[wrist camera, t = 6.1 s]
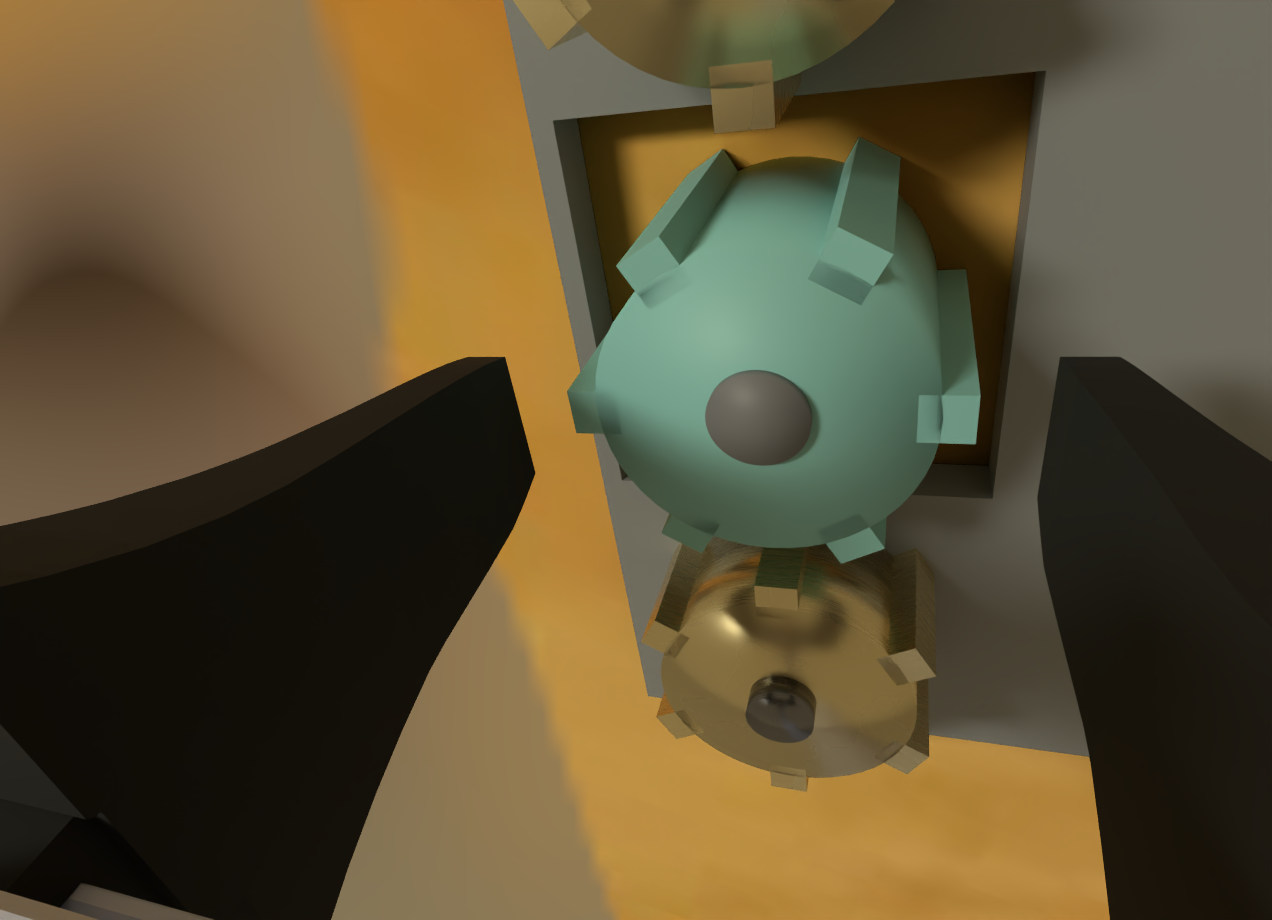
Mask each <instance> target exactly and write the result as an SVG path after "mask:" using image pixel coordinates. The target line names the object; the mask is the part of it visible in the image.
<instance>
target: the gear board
mask: <svg viewBox="0 0 1272 920" xmlns="http://www.w3.org/2000/svg"><path fill="white" fill-rule="evenodd" d="M503 1H504V6H505V11H506V16H507V21H508V25H509V30H510V35H511V40H512V45H513V49H514V54H515V59H516V64H517V69H518V73H519V78H520V83H521V88H522V93H523V97H524V102H525V107H526V112H527V117H528V121H529V126H530V131H531V136H532V141H533V145H534V150H535V155H536V160H537V165H538V169H539V174H540V179H541V184H542V189H543V193H544V198H545V203H546V208H547V213H548V217H549V222H550V227H551V232H552V237H553V241H554V246H555V251H556V256H557V261H558V265H559V270H560V275H561V280H562V285H563V289H564V294H565V299H566V304H567V309H568V313H569V318H570V323H571V328H572V333H573V337H574V342H575V347H576V352H577V357H578V361H579V366H580V371H582V369H583V368H584V366H585V365H586V363H587V362H588V360H589V359H590V358H591V356H592V355H593V353H594V352H595V350H596V349H597V347H598V346H599V344H600V343H601V342H602V340H603V339H604V337H605V336H606V334H607V333H608V331H609V329H610V327H611V325H612V323H613V320H612V315H611V309H610V303H609V298H608V292H607V286H606V281H605V275H604V269H603V264H602V258H601V252H600V247H599V241H598V235H597V230H596V224H595V218H594V213H593V207H592V201H591V196H590V190H589V184H588V179H587V173H586V167H585V162H584V156H583V150H582V145H581V139H580V133H579V128H578V122H577V118H583V117H592V116H602V115H612V114H622V113H632V112H642V111H652V110H661V109H671V108H681V107H691V106H701V105H711V104H712V112H713V123H714V133H725V132H736V131H747V130H758V129H769V128H775V127H776V126H777V124H778V122H779V121H780V119H781V117H782V115H783V114H784V112H785V110H786V109H787V107H788V105H789V103H790V102H791V100H792V98H793V97H794V96H799V95H809V94H819V93H829V92H839V91H848V90H858V89H868V88H878V87H888V86H898V85H907V84H917V83H927V82H937V81H947V80H957V79H966V78H976V77H986V76H996V75H1006V74H1016V73H1026V72H1035V71H1036V73H1035V82H1034V90H1033V98H1032V107H1031V115H1030V124H1029V132H1028V141H1027V149H1026V157H1025V166H1024V174H1023V183H1022V191H1021V199H1020V208H1019V216H1018V225H1017V233H1016V242H1015V250H1014V258H1013V267H1012V275H1011V284H1010V292H1009V301H1008V309H1007V317H1006V326H1005V334H1004V343H1003V351H1002V359H1001V368H1000V376H999V385H998V393H997V402H996V410H995V418H994V427H993V435H992V444H991V452H990V460H989V466H978V465H952V464H931V466H930V468H929V469H928V471H927V473H926V475H925V477H924V478H923V480H922V481H921V483H920V484H919V485H918V487H917V488H916V489H915V491H914V492H913V493H912V494H911V495H910V496H909V497H908V498H907V499H906V501H905V502H904V503H903V504H902V505H901V506H900V507H898V508H897V509H896V510H895V511H893V512H892V513H891V514H889V515H888V516H887V520H886V538H885V549H882V550H879V551H877V552H874V553H871V554H868V555H865V556H862V557H859V558H856V559H854V560H851V561H848V562H845V563H842V564H841V563H840V562H839V560H838V559H837V558H836V556H835V555H834V554H833V552H832V551H831V550H830V548H829V547H828V546H827V544H826V543H825V544H820V545H814V546H809V547H797V548H767V547H759V546H751V545H745V544H741V543H736V542H732V541H728V540H725V539H722V538H719V537H715V536H713V537H712V538H711V540H710V541H709V543H708V545H707V546H706V548H705V549H704V551H703V552H702V553H700V552H698V551H696V550H694V549H692V548H690V547H688V546H686V545H684V544H682V543H680V542H678V541H676V540H674V539H672V538H670V537H668V536H666V535H664V534H662V530H663V528H664V525H665V523H666V520H667V518H668V515H669V513H668V512H666V511H665V510H663V509H662V508H661V507H659V506H658V505H657V504H656V503H654V502H653V501H652V500H651V499H650V498H649V497H647V496H646V495H645V494H644V493H643V492H642V491H641V490H640V489H639V488H638V487H637V486H636V485H635V483H634V482H633V481H632V480H631V479H630V478H629V476H628V475H627V474H626V472H625V471H624V470H623V468H622V467H621V466H620V464H619V463H618V461H617V459H616V457H615V456H614V454H613V452H612V451H611V449H610V447H609V444H608V442H607V440H606V437H605V435H604V434H595V433H594V438H595V443H596V448H597V453H598V457H599V462H600V467H601V472H602V477H603V481H604V486H605V491H606V496H607V501H608V505H609V510H610V515H611V520H612V525H613V529H614V534H615V539H616V544H617V549H618V553H619V558H620V563H621V568H622V573H623V577H624V582H625V587H626V592H627V597H628V601H629V606H630V611H631V616H632V621H633V626H634V630H635V635H636V640H637V645H638V650H639V654H640V659H641V664H642V669H643V674H644V678H645V683H646V688H647V693H648V696H652V697H659V698H662V701H661V704H660V707H659V710H658V713H657V716H656V717H657V718H658V719H659V720H660V722H661V723H662V724H663V725H664V726H665V727H666V728H667V729H668V730H669V731H670V732H671V733H672V734H673V735H674V736H675V737H676V739H678V738H682V737H687V736H691V735H695V734H696V735H697V736H698V737H699V738H701V739H702V740H703V741H705V742H706V743H708V744H709V745H711V746H712V747H714V748H715V749H717V750H718V751H720V752H722V753H724V754H726V755H728V756H729V757H732V758H734V759H736V760H738V761H741V762H743V763H745V764H748V765H751V766H754V767H757V768H760V769H763V770H767V771H770V773H771V785H772V786H776V787H782V788H788V789H794V790H800V791H806V792H807V786H808V778H809V777H814V778H824V777H838V776H846V775H851V774H855V773H860V772H863V771H866V770H869V769H872V768H874V767H876V766H878V765H880V764H882V763H886V764H888V765H890V766H892V767H894V768H896V769H898V770H900V771H902V772H904V773H906V774H908V773H909V772H910V771H912V770H913V769H914V768H916V767H917V766H918V765H919V764H921V763H922V762H923V761H924V760H926V759H927V758H928V757H929V735H935V736H942V737H949V738H957V739H964V740H971V741H978V742H986V743H993V744H1000V745H1007V746H1015V747H1022V748H1029V749H1036V750H1044V751H1051V752H1058V753H1066V754H1073V755H1080V756H1087V757H1089V752H1088V747H1087V742H1086V737H1085V732H1084V727H1083V723H1082V719H1081V715H1080V711H1079V707H1078V703H1077V699H1076V695H1075V691H1074V687H1073V683H1072V679H1071V675H1070V671H1069V667H1068V663H1067V659H1066V655H1065V652H1064V648H1063V644H1062V640H1061V636H1060V632H1059V628H1058V624H1057V620H1056V616H1055V612H1054V608H1053V604H1052V599H1051V595H1050V591H1049V587H1048V583H1047V579H1046V575H1045V570H1044V566H1043V556H1042V547H1041V537H1040V526H1039V514H1038V502H1037V495H1038V489H1039V483H1040V477H1041V471H1042V465H1043V458H1044V452H1045V446H1046V440H1047V434H1048V428H1049V422H1050V415H1051V409H1052V403H1053V397H1054V391H1055V385H1056V379H1057V372H1058V366H1059V360H1060V357H1121V358H1123V359H1125V360H1126V361H1128V362H1130V363H1131V364H1133V365H1134V366H1136V367H1137V368H1139V369H1140V370H1141V371H1143V372H1144V373H1146V374H1147V375H1148V376H1150V377H1151V378H1153V379H1154V380H1155V381H1157V382H1158V383H1159V384H1161V385H1162V386H1164V387H1165V388H1166V389H1168V390H1169V391H1170V392H1172V393H1173V394H1175V395H1176V396H1177V397H1179V398H1180V399H1181V400H1183V401H1184V402H1185V403H1187V404H1188V405H1190V406H1191V407H1192V408H1194V409H1195V410H1197V411H1198V412H1199V413H1201V414H1202V415H1204V416H1205V417H1206V418H1208V419H1209V420H1211V421H1212V422H1214V423H1215V424H1216V425H1218V426H1219V427H1221V428H1222V429H1224V430H1225V431H1226V432H1228V433H1229V434H1231V435H1232V436H1234V437H1235V438H1237V439H1238V440H1240V441H1241V442H1243V443H1244V444H1246V445H1247V446H1249V447H1250V448H1252V449H1253V450H1255V451H1257V452H1258V453H1260V454H1261V455H1263V456H1264V457H1266V458H1267V459H1269V460H1270V461H1272V0H503Z"/></svg>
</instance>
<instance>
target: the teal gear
mask: <svg viewBox="0 0 1272 920" xmlns="http://www.w3.org/2000/svg"><path fill="white" fill-rule="evenodd" d="M900 161H901V157H899V156H897V155H895V154H893V153H891V152H889V151H887V150H885V149H883V148H881V147H879V146H877V145H875V144H873V143H871V142H869V141H867V140H865V139H863V138H861V137H859V138H858V140H857V142H856V143H855V145H854V147H853V149H852V151H851V153H850V154H849V156H848V158H847V160H846V162H845V163H842V162H839V161H835V160H831V159H825V158H817V157H786V158H779V159H772V160H768V161H765V162H761V163H758V164H754V165H751V166H749V167H747V168H744V169H742V170H740V171H738V170H737V169H736V167H735V166H734V164H733V163H732V161H731V160H730V158H729V157H728V155H727V154H726V152H725V151H724V149H721V150H720V151H719V152H717V153H716V154H715V155H713V156H712V157H711V158H709V159H708V160H707V161H705V162H704V163H702V164H701V165H700V166H698V167H697V168H696V169H694V170H693V171H692V172H690V173H689V174H688V175H687V176H686V177H685V179H684V180H683V181H682V183H681V184H680V185H679V186H678V188H677V189H676V190H675V191H674V193H673V194H672V195H671V197H670V198H669V199H668V200H667V202H666V203H665V204H664V206H663V207H662V208H661V209H660V211H659V212H658V213H657V214H656V216H655V217H654V218H653V220H652V221H651V222H650V223H649V225H648V226H647V227H646V228H645V230H644V231H643V232H642V234H641V235H640V236H639V237H638V239H637V240H636V241H635V242H634V244H633V245H632V246H631V248H630V249H629V250H628V251H627V253H626V254H625V255H624V256H623V258H622V259H621V260H620V262H619V263H618V264H617V265H616V267H617V268H618V269H619V271H620V272H621V273H622V275H623V276H624V277H625V279H626V280H627V281H628V283H629V284H630V285H631V287H632V288H633V289H634V293H633V294H632V296H631V297H630V299H629V300H628V301H627V303H626V304H625V306H624V307H623V309H622V310H621V312H620V313H619V314H618V316H617V317H616V319H615V320H614V322H613V323H612V325H611V327H610V329H609V331H608V333H607V334H606V336H605V337H604V339H603V340H602V342H601V343H600V344H599V346H598V347H597V349H596V350H595V352H594V353H593V355H592V356H591V358H590V359H589V360H588V362H587V363H586V365H585V366H584V368H583V369H582V371H581V372H580V374H579V375H578V376H577V378H576V379H575V381H574V382H573V384H572V385H571V387H570V388H569V389H568V391H567V393H568V397H569V402H570V406H571V411H572V415H573V419H574V424H575V428H576V433H595V434H604V435H605V437H606V440H607V442H608V444H609V447H610V449H611V451H612V452H613V454H614V456H615V457H616V459H617V461H618V463H619V464H620V466H621V467H622V468H623V470H624V471H625V472H626V474H627V475H628V476H629V478H630V479H631V480H632V481H633V482H634V483H635V485H636V486H637V487H638V488H639V489H640V490H641V491H642V492H643V493H644V494H645V495H646V496H647V497H649V498H650V499H651V500H652V501H653V502H654V503H656V504H657V505H658V506H659V507H661V508H662V509H663V510H665V511H666V512H668V513H669V515H668V518H667V520H666V523H665V525H664V528H663V530H662V534H664V535H666V536H668V537H670V538H672V539H674V540H676V541H678V542H680V543H682V544H684V545H686V546H688V547H690V548H692V549H694V550H696V551H698V552H700V553H702V552H703V551H704V549H705V548H706V546H707V545H708V543H709V541H710V540H711V538H712V537H713V536H715V537H719V538H722V539H725V540H728V541H732V542H736V543H741V544H745V545H751V546H759V547H767V548H797V547H809V546H814V545H820V544H825V543H826V544H827V546H828V547H829V548H830V550H831V551H832V552H833V554H834V555H835V556H836V558H837V559H838V560H839V562H840V563H841V564H842V563H845V562H848V561H851V560H854V559H856V558H859V557H862V556H865V555H868V554H871V553H874V552H877V551H879V550H882V549H885V538H886V520H887V516H888V515H889V514H891V513H892V512H893V511H895V510H896V509H897V508H898V507H900V506H901V505H902V504H903V503H904V502H905V501H906V499H907V498H908V497H909V496H910V495H911V494H912V493H913V492H914V491H915V489H916V488H917V487H918V485H919V484H920V483H921V481H922V480H923V478H924V477H925V475H926V473H927V471H928V469H929V468H930V466H931V464H932V462H933V460H934V457H935V454H936V451H937V448H938V445H939V443H948V444H976V436H977V426H978V417H979V407H980V397H981V395H980V386H979V377H978V369H977V360H976V351H975V342H974V334H973V325H972V316H971V307H970V299H969V290H968V281H967V272H966V269H957V270H937V265H936V259H935V254H934V251H933V248H932V245H931V242H930V239H929V237H928V235H927V233H926V231H925V228H924V226H923V224H922V222H921V221H920V220H919V218H918V217H917V215H916V214H915V212H914V211H913V209H912V208H911V207H910V206H909V205H908V203H907V202H906V201H905V200H904V199H903V198H902V197H901V196H900V195H899V194H898V188H899V174H900Z"/></svg>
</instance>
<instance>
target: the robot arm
mask: <svg viewBox="0 0 1272 920" xmlns="http://www.w3.org/2000/svg"><path fill="white" fill-rule="evenodd" d="M534 475H535V470H534V466H533V462H532V458H531V454H530V451H529V447H528V443H527V439H526V435H525V431H524V428H523V424H522V420H521V416H520V412H519V409H518V405H517V401H516V397H515V393H514V389H513V386H512V382H511V378H510V374H509V370H508V367H507V363H506V359H505V357H467V358H463V359H460V360H457V361H454V362H451V363H448V364H446V365H443V366H441V367H438V368H436V369H434V370H431V371H429V372H427V373H425V374H422V375H420V376H418V377H416V378H414V379H412V380H410V381H408V382H405V383H403V384H401V385H399V386H397V387H395V388H393V389H391V390H389V391H387V392H385V393H383V394H381V395H379V396H377V397H375V398H373V399H370V400H368V401H367V402H364V403H362V404H360V405H358V406H356V407H354V408H352V409H350V410H348V411H346V412H344V413H342V414H339V415H337V416H335V417H333V418H331V419H329V420H326V421H324V422H322V423H320V424H318V425H315V426H313V427H311V428H309V429H307V430H304V431H302V432H300V433H298V434H296V435H294V436H291V437H289V438H287V439H285V440H283V441H280V442H278V443H276V444H273V445H271V446H268V447H266V448H264V449H261V450H259V451H256V452H254V453H251V454H249V455H246V456H244V457H241V458H239V459H236V460H233V461H230V462H228V463H225V464H222V465H220V466H217V467H214V468H211V469H208V470H206V471H203V472H200V473H197V474H194V475H191V476H189V477H186V478H183V479H179V480H176V481H172V482H169V483H166V484H163V485H159V486H156V487H153V488H149V489H146V490H143V491H139V492H136V493H133V494H130V495H126V496H123V497H119V498H116V499H113V500H109V501H106V502H102V503H98V504H94V505H90V506H86V507H82V508H78V509H74V510H70V511H66V512H62V513H58V514H54V515H49V516H45V517H40V518H36V519H31V520H27V521H23V522H18V523H13V524H8V525H4V526H0V920H331V918H332V915H333V912H334V909H335V906H336V903H337V900H338V897H339V894H340V891H341V887H342V885H343V881H344V879H345V875H346V872H347V869H348V867H349V864H350V861H351V859H352V856H353V853H354V851H355V848H356V845H357V842H358V840H359V837H360V835H361V832H362V829H363V826H364V824H365V821H366V818H367V816H368V813H369V810H370V808H371V805H372V802H373V800H374V797H375V794H376V791H377V789H378V787H379V785H380V782H381V780H382V777H383V775H384V772H385V770H386V768H387V765H388V763H389V761H390V758H391V756H392V753H393V751H394V749H395V746H396V744H397V742H398V739H399V737H400V734H401V732H402V730H403V727H404V725H405V723H406V721H407V719H408V716H409V714H410V712H411V710H412V708H413V706H414V703H415V701H416V699H417V697H418V695H419V692H420V690H421V688H422V686H423V684H424V681H425V679H426V677H427V675H428V673H429V671H430V669H431V667H432V665H433V663H434V662H435V660H436V658H437V656H438V654H439V652H440V651H441V649H442V647H443V645H444V643H445V641H446V640H447V638H448V637H449V635H450V633H451V632H452V630H453V629H454V627H455V625H456V623H457V622H458V620H459V619H460V617H461V615H462V614H463V612H464V610H465V609H466V607H467V605H468V604H469V602H470V600H471V599H472V597H473V595H474V594H475V592H476V590H477V589H478V587H479V586H480V584H481V582H482V581H483V579H484V577H485V576H486V574H487V572H488V571H489V569H490V567H491V566H492V564H493V562H494V561H495V559H496V557H497V556H498V554H499V552H500V550H501V549H502V547H503V545H504V544H505V542H506V540H507V538H508V537H509V535H510V533H511V531H512V530H513V528H514V525H515V523H516V521H517V518H518V516H519V514H520V511H521V509H522V507H523V504H524V502H525V499H526V497H527V494H528V491H529V489H530V486H531V483H532V481H533V478H534ZM1037 502H1038V514H1039V526H1040V537H1041V547H1042V556H1043V566H1044V570H1045V575H1046V579H1047V583H1048V587H1049V591H1050V595H1051V599H1052V604H1053V608H1054V612H1055V616H1056V620H1057V624H1058V628H1059V632H1060V636H1061V640H1062V644H1063V648H1064V652H1065V655H1066V659H1067V663H1068V667H1069V671H1070V675H1071V679H1072V683H1073V687H1074V691H1075V695H1076V699H1077V703H1078V707H1079V711H1080V715H1081V719H1082V723H1083V727H1084V732H1085V737H1086V742H1087V747H1088V752H1089V757H1090V762H1091V768H1092V776H1093V784H1094V791H1095V799H1096V807H1097V814H1098V822H1099V830H1100V837H1101V845H1102V853H1103V862H1104V871H1105V879H1106V888H1107V897H1108V905H1109V914H1110V920H1272V461H1270V460H1269V459H1267V458H1266V457H1264V456H1263V455H1261V454H1260V453H1258V452H1257V451H1255V450H1253V449H1252V448H1250V447H1249V446H1247V445H1246V444H1244V443H1243V442H1241V441H1240V440H1238V439H1237V438H1235V437H1234V436H1232V435H1231V434H1229V433H1228V432H1226V431H1225V430H1224V429H1222V428H1221V427H1219V426H1218V425H1216V424H1215V423H1214V422H1212V421H1211V420H1209V419H1208V418H1206V417H1205V416H1204V415H1202V414H1201V413H1199V412H1198V411H1197V410H1195V409H1194V408H1192V407H1191V406H1190V405H1188V404H1187V403H1185V402H1184V401H1183V400H1181V399H1180V398H1179V397H1177V396H1176V395H1175V394H1173V393H1172V392H1170V391H1169V390H1168V389H1166V388H1165V387H1164V386H1162V385H1161V384H1159V383H1158V382H1157V381H1155V380H1154V379H1153V378H1151V377H1150V376H1148V375H1147V374H1146V373H1144V372H1143V371H1141V370H1140V369H1139V368H1137V367H1136V366H1134V365H1133V364H1131V363H1130V362H1128V361H1126V360H1125V359H1123V358H1121V357H1060V360H1059V366H1058V372H1057V379H1056V385H1055V391H1054V397H1053V403H1052V409H1051V415H1050V422H1049V428H1048V434H1047V440H1046V446H1045V452H1044V458H1043V465H1042V471H1041V477H1040V483H1039V489H1038V495H1037Z"/></svg>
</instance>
